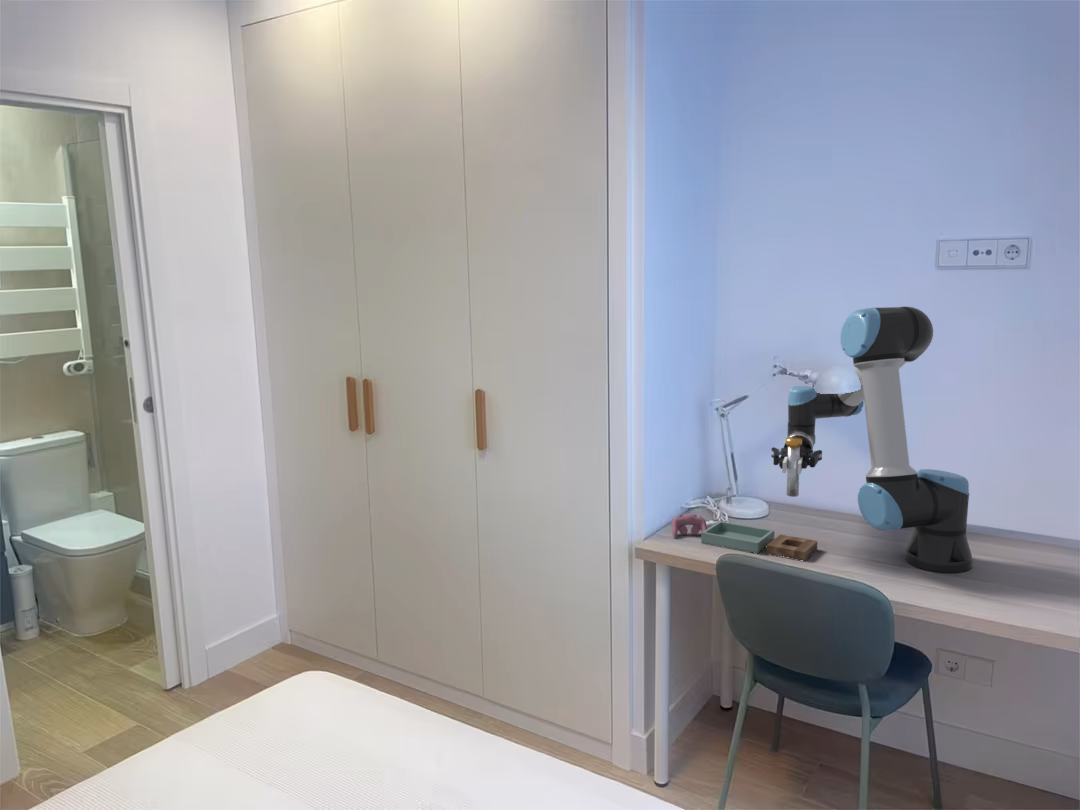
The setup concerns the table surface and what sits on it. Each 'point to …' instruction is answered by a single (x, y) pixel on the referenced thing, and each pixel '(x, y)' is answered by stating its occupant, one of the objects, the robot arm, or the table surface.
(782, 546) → the socket block
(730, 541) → the tray
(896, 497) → the robot arm
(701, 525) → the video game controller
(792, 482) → the pin
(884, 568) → the table surface
